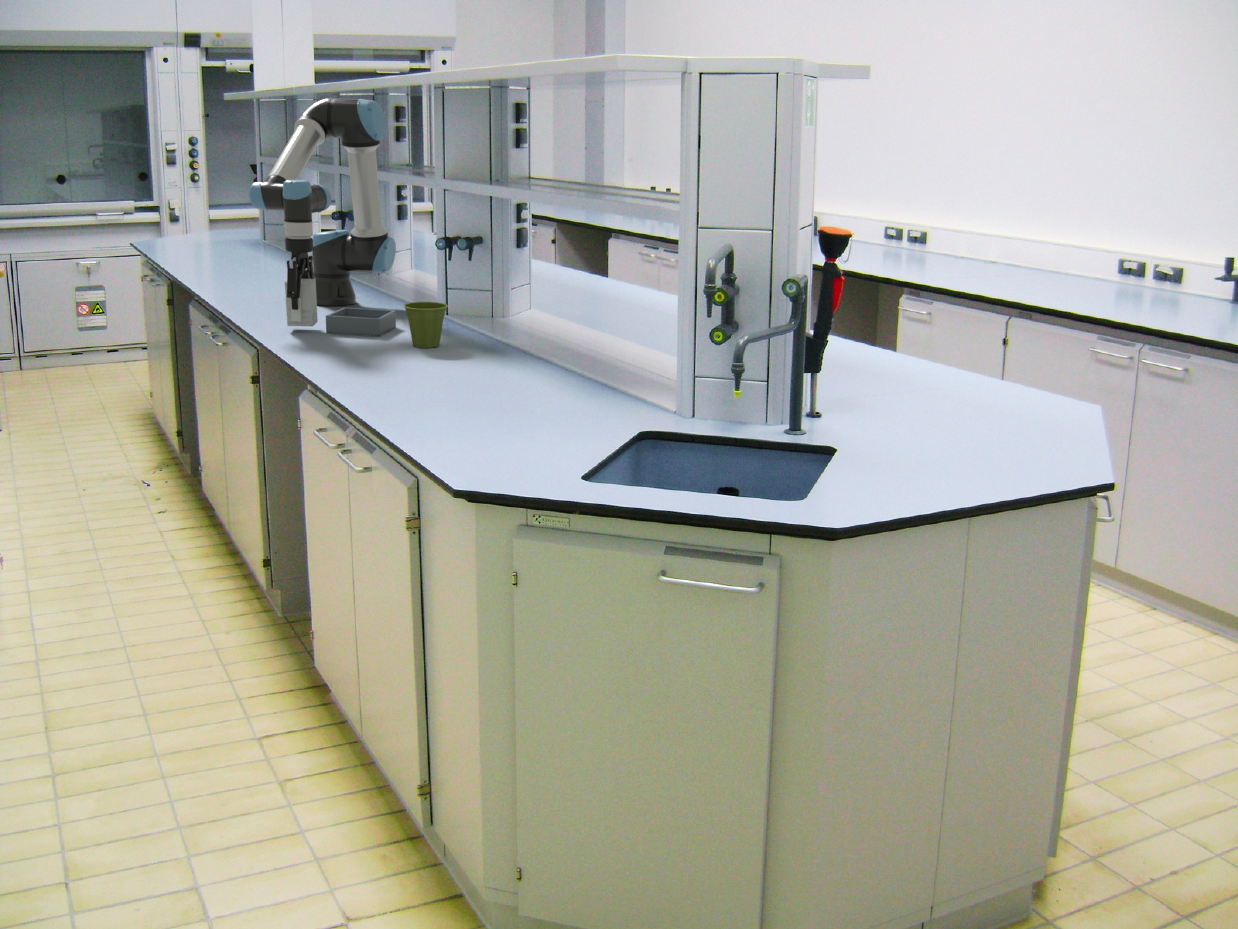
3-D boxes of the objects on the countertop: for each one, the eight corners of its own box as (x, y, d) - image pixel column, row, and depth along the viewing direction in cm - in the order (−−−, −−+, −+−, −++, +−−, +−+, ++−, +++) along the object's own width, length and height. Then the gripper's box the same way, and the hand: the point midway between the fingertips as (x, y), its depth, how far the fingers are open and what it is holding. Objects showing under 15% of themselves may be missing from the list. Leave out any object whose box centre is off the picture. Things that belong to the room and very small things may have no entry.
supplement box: (318, 322, 338) (316, 278, 334) (312, 327, 331) (310, 282, 327) (292, 321, 337) (290, 277, 334) (286, 326, 330) (284, 281, 327)
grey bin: (344, 324, 347) (343, 307, 345) (395, 327, 345) (395, 310, 344) (326, 333, 332) (325, 315, 330) (379, 336, 330) (379, 319, 329)
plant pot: (400, 342, 323) (399, 301, 320) (442, 341, 327) (442, 301, 324) (408, 350, 313) (407, 308, 310) (452, 349, 317) (452, 308, 314)
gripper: (299, 232, 337) (302, 311, 344) (271, 240, 317) (275, 323, 324) (324, 233, 336) (327, 312, 343) (298, 241, 317) (301, 325, 323)
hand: (302, 318), depth 333 cm, fingers closed on supplement box, 8 cm apart
